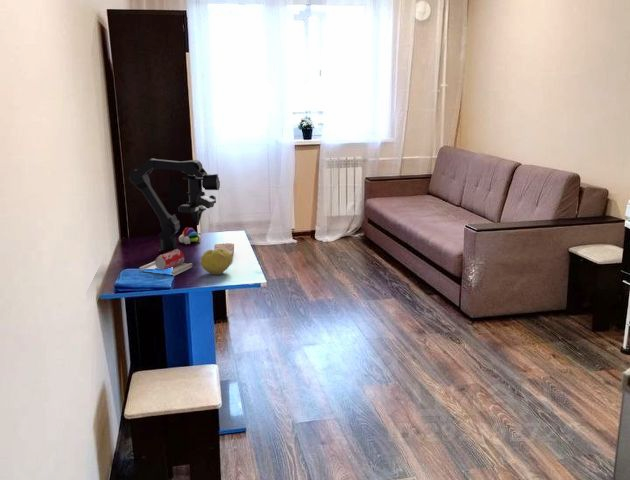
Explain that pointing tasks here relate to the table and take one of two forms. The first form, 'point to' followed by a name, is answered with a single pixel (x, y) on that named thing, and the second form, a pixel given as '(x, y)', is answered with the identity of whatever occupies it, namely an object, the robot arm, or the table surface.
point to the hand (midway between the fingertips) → (197, 225)
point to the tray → (176, 269)
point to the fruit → (216, 261)
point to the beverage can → (169, 259)
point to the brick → (226, 248)
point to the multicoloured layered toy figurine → (189, 236)
